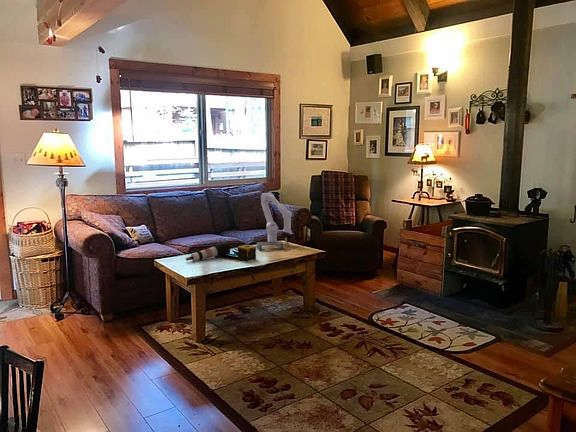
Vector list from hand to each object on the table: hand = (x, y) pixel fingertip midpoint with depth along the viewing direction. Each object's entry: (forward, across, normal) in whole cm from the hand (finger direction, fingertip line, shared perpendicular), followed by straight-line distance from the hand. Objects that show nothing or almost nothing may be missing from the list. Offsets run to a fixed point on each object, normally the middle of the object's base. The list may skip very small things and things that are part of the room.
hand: (287, 241), depth 402 cm
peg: (+4, 0, 0) cm, 4 cm away
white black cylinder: (+4, +16, -74) cm, 75 cm away
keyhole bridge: (+4, +5, -18) cm, 19 cm away
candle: (+4, +30, -48) cm, 57 cm away
